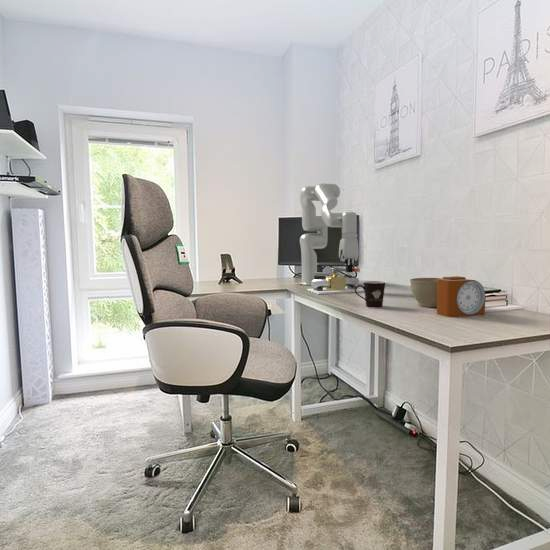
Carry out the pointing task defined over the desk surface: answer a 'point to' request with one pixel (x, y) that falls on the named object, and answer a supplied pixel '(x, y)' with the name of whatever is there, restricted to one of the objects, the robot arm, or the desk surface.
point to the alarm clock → (460, 297)
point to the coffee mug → (373, 293)
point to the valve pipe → (334, 283)
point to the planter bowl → (425, 291)
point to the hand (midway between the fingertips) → (349, 272)
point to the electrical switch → (320, 275)
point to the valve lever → (345, 269)
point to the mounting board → (336, 291)
